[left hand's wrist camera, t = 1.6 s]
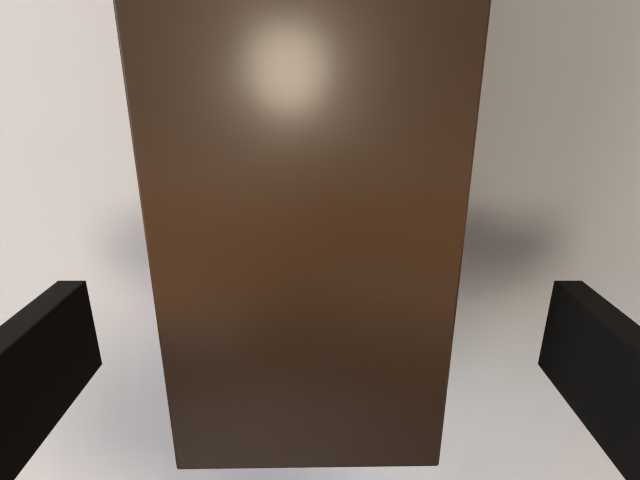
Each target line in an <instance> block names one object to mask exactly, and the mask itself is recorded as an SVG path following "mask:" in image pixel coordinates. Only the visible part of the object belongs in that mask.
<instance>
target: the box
mask: <svg viewBox="0 0 640 480" xmlns="http://www.w3.org/2000/svg"><path fill="white" fill-rule="evenodd" d="M113 3H114V11H115V18H116V25H117V33H118V40H119V47H120V54H121V62H122V69H123V76H124V84H125V91H126V98H127V106H128V113H129V120H130V128H131V135H132V142H133V150H134V157H135V164H136V172H137V179H138V186H139V194H140V201H141V208H142V216H143V223H144V230H145V238H146V245H147V252H148V260H149V267H150V274H151V281H152V289H153V296H154V303H155V311H156V318H157V325H158V333H159V340H160V347H161V355H162V362H163V369H164V377H165V384H166V391H167V399H168V406H169V413H170V421H171V428H172V435H173V443H174V450H175V457H176V465H177V469H229V468H304V467H379V466H437V465H438V464H439V457H440V448H441V439H442V430H443V421H444V413H445V404H446V395H447V386H448V377H449V368H450V360H451V351H452V342H453V333H454V324H455V315H456V306H457V298H458V289H459V280H460V271H461V262H462V253H463V245H464V236H465V227H466V218H467V209H468V200H469V192H470V183H471V174H472V165H473V156H474V147H475V138H476V130H477V121H478V112H479V103H480V94H481V85H482V77H483V68H484V59H485V50H486V41H487V32H488V24H489V15H490V6H491V0H113Z"/></svg>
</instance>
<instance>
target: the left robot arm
mask: <svg viewBox="0 0 640 480" xmlns="http://www.w3.org/2000/svg"><path fill="white" fill-rule="evenodd" d="M101 365H102V361H101V356H100V351H99V346H98V341H97V336H96V331H95V326H94V321H93V316H92V311H91V306H90V301H89V296H88V291H87V285H86V281H57V282H56V283H55V284H54V285H52V286H51V287H50V288H48V289H47V290H46V291H45V292H43V293H42V294H41V295H39V296H38V297H37V298H36V299H34V300H33V301H32V302H30V303H29V304H28V305H27V306H25V307H24V308H23V309H21V310H20V311H19V312H18V313H16V314H15V315H14V316H13V317H11V318H10V319H9V320H7V321H6V322H5V323H4V324H2V325H1V326H0V480H14V479H15V478H16V477H17V475H18V474H19V473H20V471H21V470H22V469H23V468H24V466H25V465H26V464H27V462H28V461H29V460H30V458H31V457H32V456H33V454H34V453H35V452H36V450H37V449H38V448H39V446H40V445H41V444H42V442H43V441H44V440H45V439H46V437H47V436H48V435H49V433H50V432H51V431H52V429H53V428H54V427H55V425H56V424H57V423H58V421H59V420H60V419H61V417H62V416H63V415H64V413H65V412H66V411H67V410H68V408H69V407H70V406H71V404H72V403H73V402H74V400H75V399H76V398H77V396H78V395H79V394H80V392H81V391H82V390H83V388H84V387H85V386H86V384H87V383H88V382H89V381H90V379H91V378H92V377H93V375H94V374H95V373H96V371H97V370H98V369H99V367H100V366H101ZM538 365H539V366H540V367H541V369H542V370H543V371H544V373H545V374H546V375H547V377H548V378H549V379H550V381H551V382H552V383H553V384H554V386H555V387H556V388H557V390H558V391H559V392H560V394H561V395H562V396H563V398H564V399H565V400H566V402H567V403H568V404H569V406H570V407H571V408H572V410H573V411H574V412H575V413H576V415H577V416H578V417H579V419H580V420H581V421H582V423H583V424H584V425H585V427H586V428H587V429H588V431H589V432H590V433H591V435H592V436H593V437H594V439H595V440H596V441H597V442H598V444H599V445H600V446H601V448H602V449H603V450H604V452H605V453H606V454H607V456H608V457H609V458H610V460H611V461H612V462H613V464H614V465H615V466H616V468H617V469H618V470H619V471H620V473H621V474H622V475H623V477H624V478H625V479H626V480H640V326H639V325H638V324H636V323H635V322H634V321H633V320H631V319H630V318H629V317H627V316H626V315H625V314H624V313H622V312H621V311H620V310H619V309H617V308H616V307H615V306H613V305H612V304H611V303H610V302H608V301H607V300H606V299H604V298H603V297H602V296H601V295H599V294H598V293H597V292H595V291H594V290H593V289H592V288H590V287H589V286H588V285H586V284H585V283H584V282H583V281H554V285H553V291H552V296H551V301H550V306H549V311H548V316H547V321H546V326H545V331H544V336H543V341H542V346H541V351H540V356H539V361H538Z"/></svg>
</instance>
